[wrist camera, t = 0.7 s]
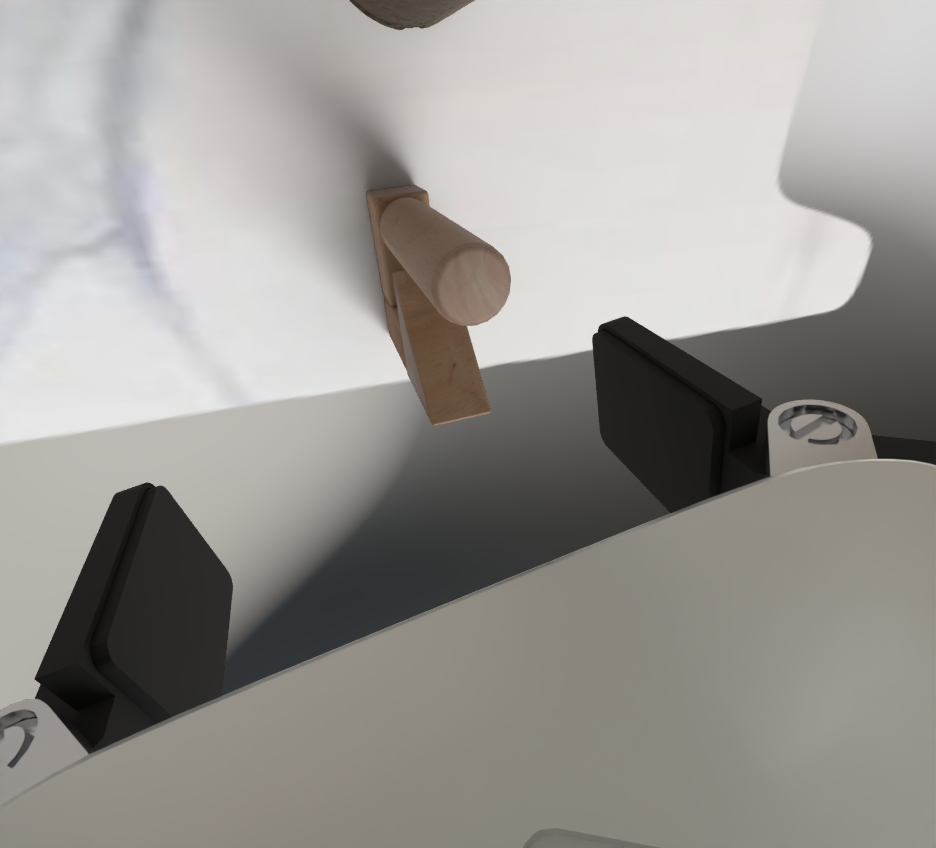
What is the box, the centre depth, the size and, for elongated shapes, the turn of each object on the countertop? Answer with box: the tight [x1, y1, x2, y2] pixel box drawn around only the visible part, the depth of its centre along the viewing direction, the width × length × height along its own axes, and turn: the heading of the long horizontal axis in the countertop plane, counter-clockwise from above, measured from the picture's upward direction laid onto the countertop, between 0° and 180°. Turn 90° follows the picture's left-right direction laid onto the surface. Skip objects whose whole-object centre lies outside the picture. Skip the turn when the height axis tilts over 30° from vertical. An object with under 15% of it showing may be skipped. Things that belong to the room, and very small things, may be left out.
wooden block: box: [366, 185, 511, 426], centre depth 31 cm, size 4×11×18 cm, turn 4°
